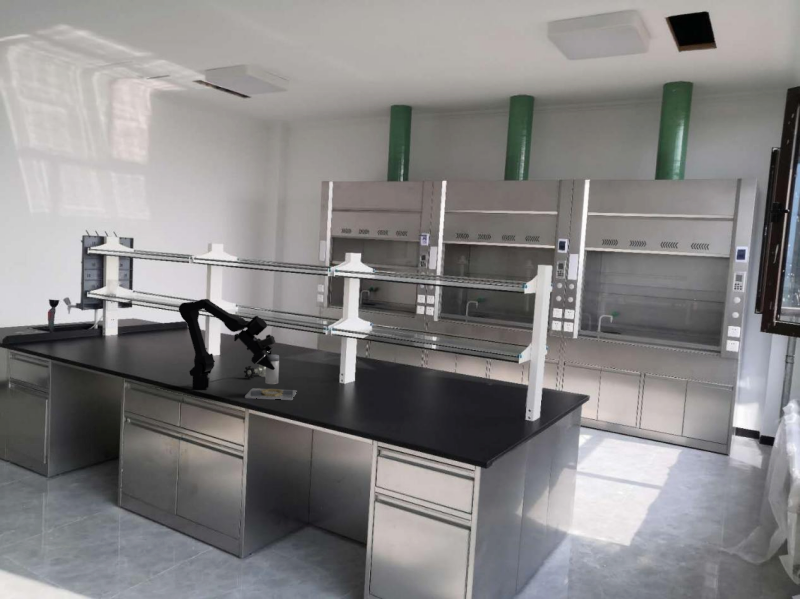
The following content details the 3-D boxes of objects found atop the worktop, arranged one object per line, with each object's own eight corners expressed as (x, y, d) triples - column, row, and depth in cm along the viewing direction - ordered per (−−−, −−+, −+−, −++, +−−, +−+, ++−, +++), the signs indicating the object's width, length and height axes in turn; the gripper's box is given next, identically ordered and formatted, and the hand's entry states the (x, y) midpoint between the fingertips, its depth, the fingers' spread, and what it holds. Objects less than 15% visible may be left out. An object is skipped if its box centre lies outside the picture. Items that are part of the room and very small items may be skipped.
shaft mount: (244, 398, 267) (245, 392, 267) (252, 390, 281) (252, 385, 281) (292, 400, 268) (292, 394, 267) (296, 392, 282) (296, 386, 281)
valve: (260, 374, 315) (243, 378, 305) (261, 361, 315) (243, 365, 304) (270, 376, 312) (253, 380, 302) (271, 363, 311) (253, 366, 301)
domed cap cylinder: (264, 383, 271) (265, 356, 270) (266, 381, 277) (267, 354, 276) (277, 384, 271) (278, 357, 270) (279, 381, 277) (280, 354, 276)
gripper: (260, 332, 262) (285, 359, 264) (268, 326, 281) (292, 352, 282) (240, 350, 263) (266, 377, 264) (250, 343, 282) (274, 368, 283)
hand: (275, 368), depth 273 cm, fingers closed on domed cap cylinder, 6 cm apart
